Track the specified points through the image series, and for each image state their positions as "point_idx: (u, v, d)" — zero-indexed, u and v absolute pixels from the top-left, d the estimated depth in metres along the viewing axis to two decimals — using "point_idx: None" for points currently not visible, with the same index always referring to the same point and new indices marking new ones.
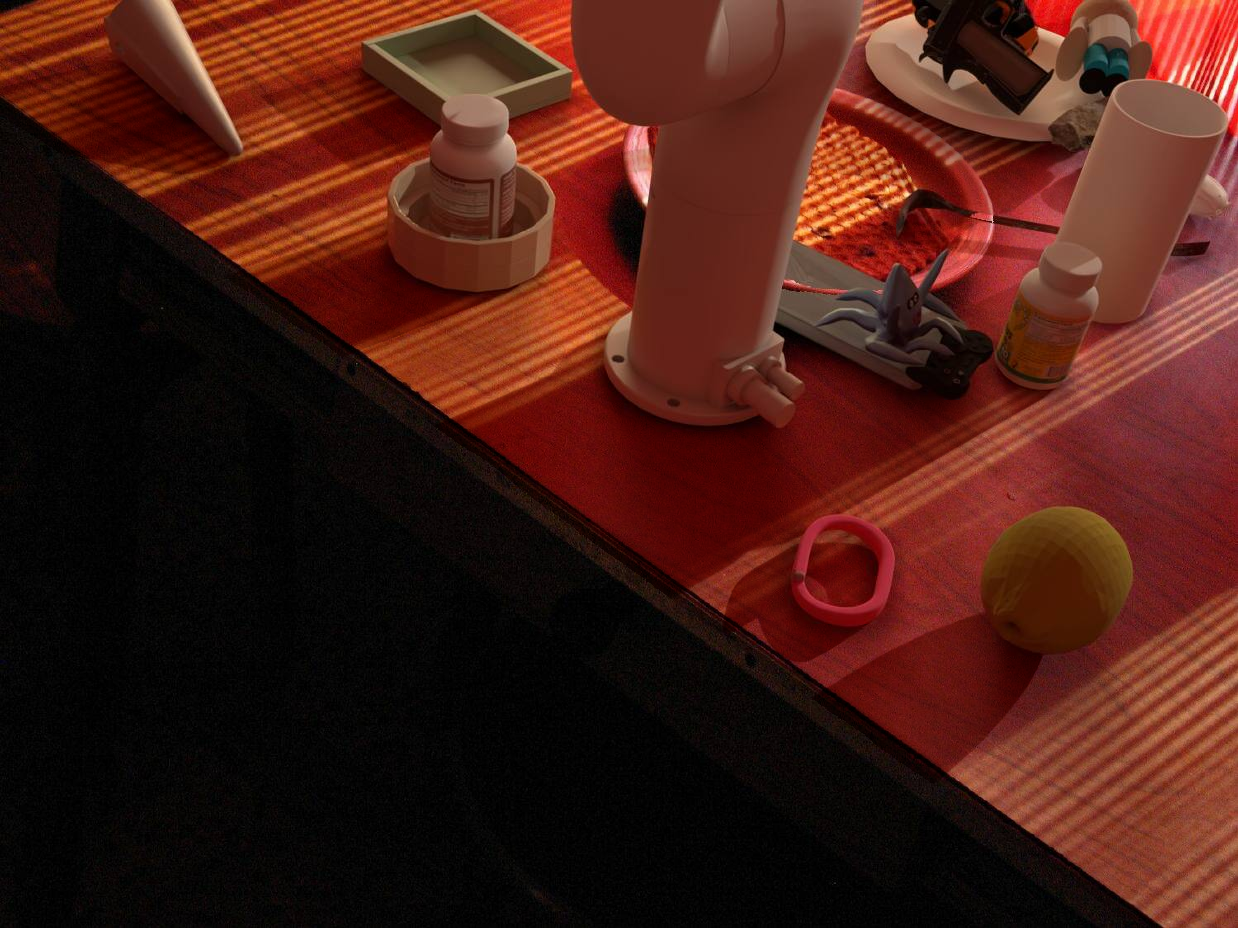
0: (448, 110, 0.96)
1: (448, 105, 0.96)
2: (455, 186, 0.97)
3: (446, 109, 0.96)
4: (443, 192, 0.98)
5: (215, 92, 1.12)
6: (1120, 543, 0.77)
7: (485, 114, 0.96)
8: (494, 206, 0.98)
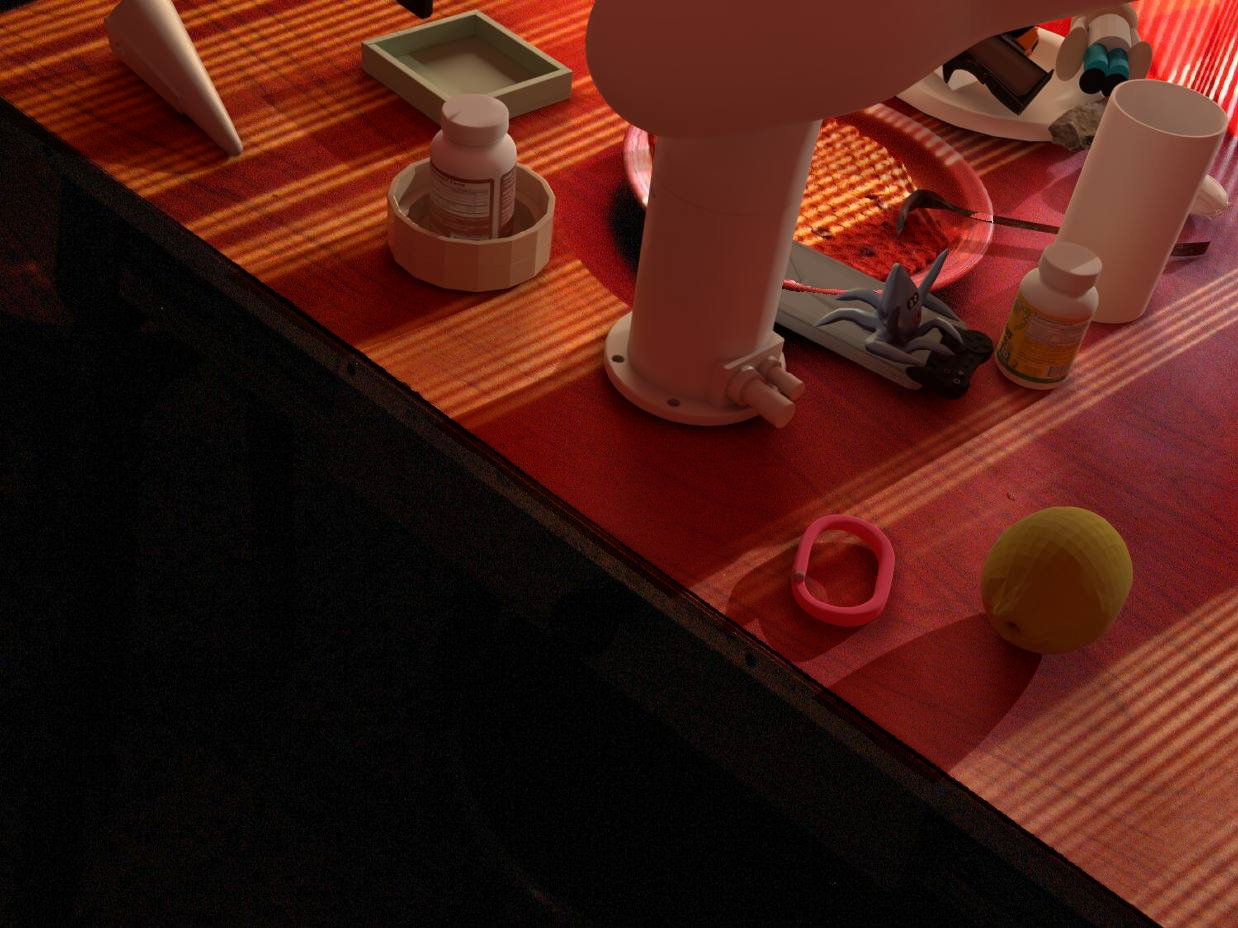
0: (448, 110, 0.96)
1: (448, 105, 0.96)
2: (455, 186, 0.97)
3: (446, 109, 0.96)
4: (443, 192, 0.98)
5: (215, 92, 1.12)
6: (1120, 543, 0.77)
7: (485, 114, 0.96)
8: (494, 206, 0.98)
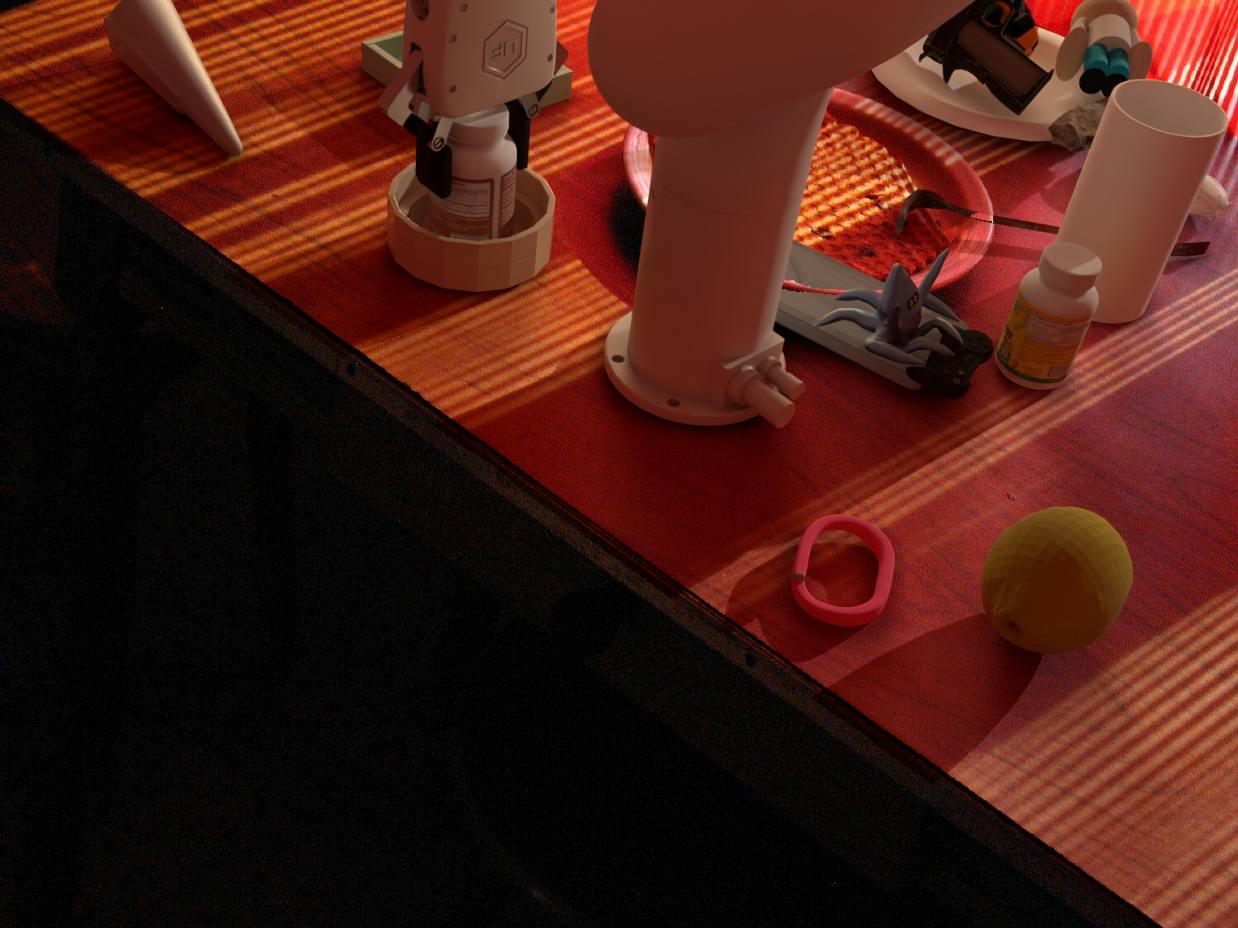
0: None
1: None
2: (455, 186, 0.97)
3: None
4: None
5: (215, 92, 1.12)
6: (1120, 543, 0.77)
7: (485, 114, 0.96)
8: (494, 205, 0.98)
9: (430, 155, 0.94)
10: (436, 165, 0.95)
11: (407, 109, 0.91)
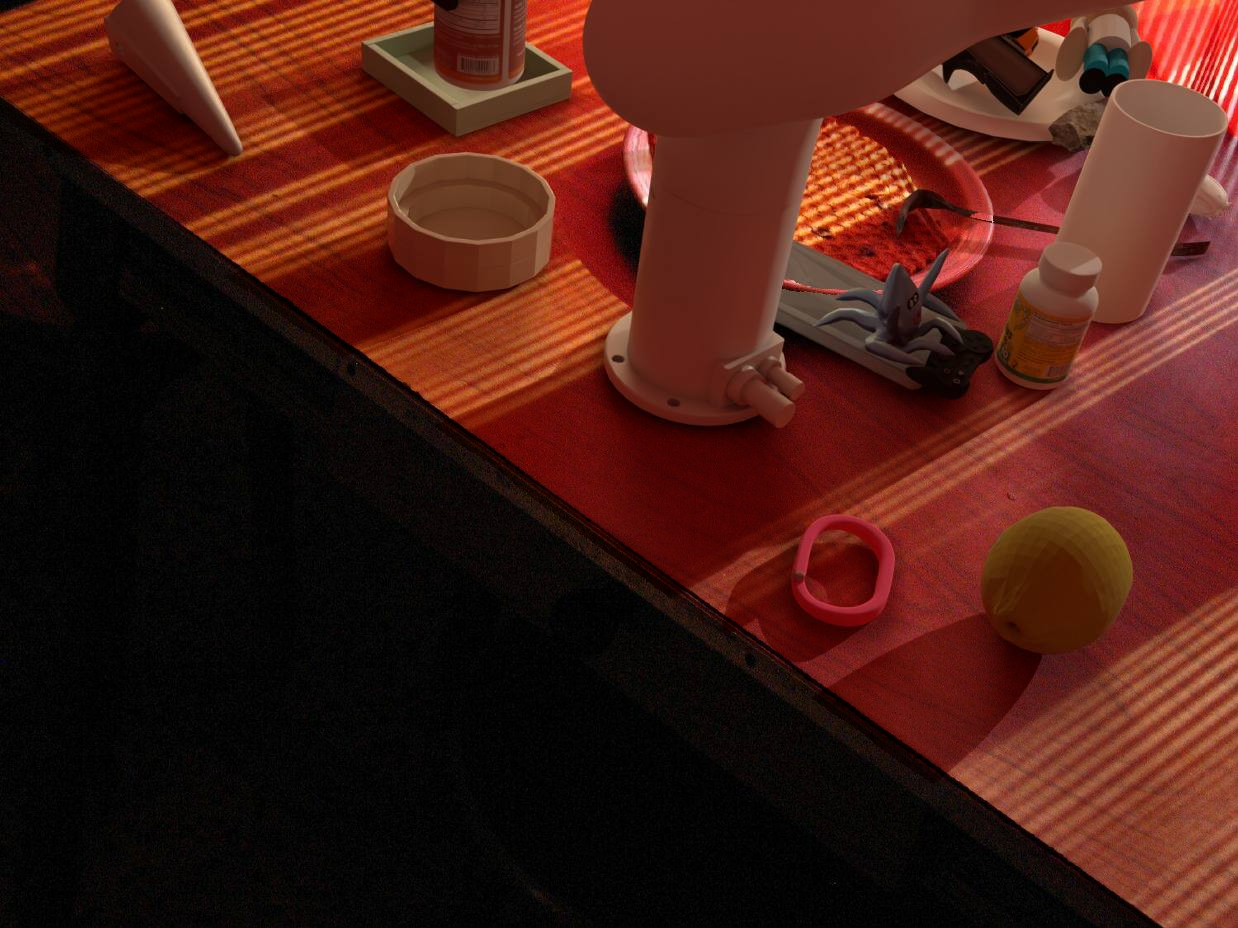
0: None
1: None
2: None
3: None
4: None
5: (215, 92, 1.12)
6: (1120, 543, 0.77)
7: None
8: (505, 21, 0.90)
9: None
10: None
11: None
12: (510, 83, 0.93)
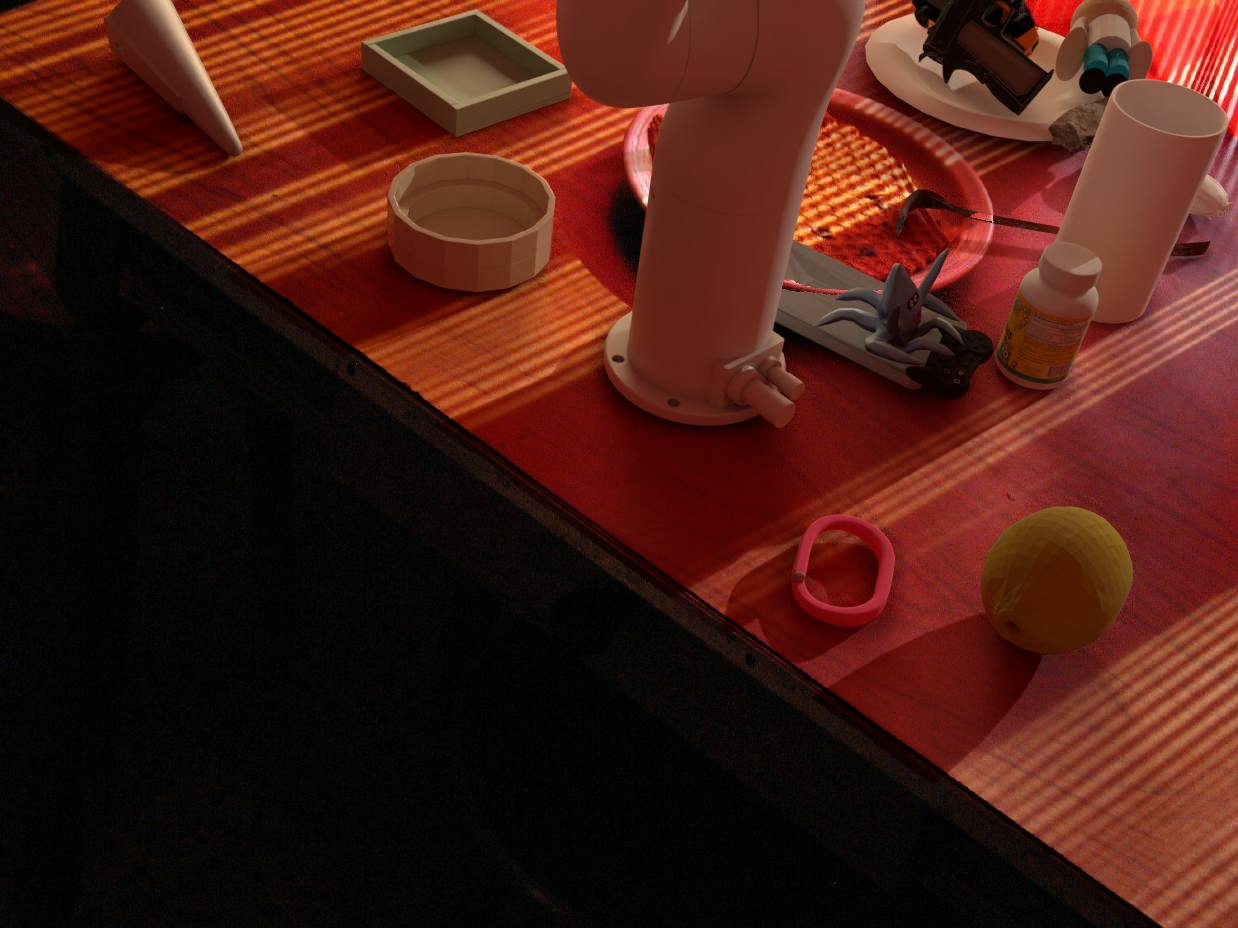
0: None
1: None
2: None
3: None
4: None
5: (215, 92, 1.12)
6: (1120, 543, 0.77)
7: None
8: None
9: None
10: None
11: None
12: None
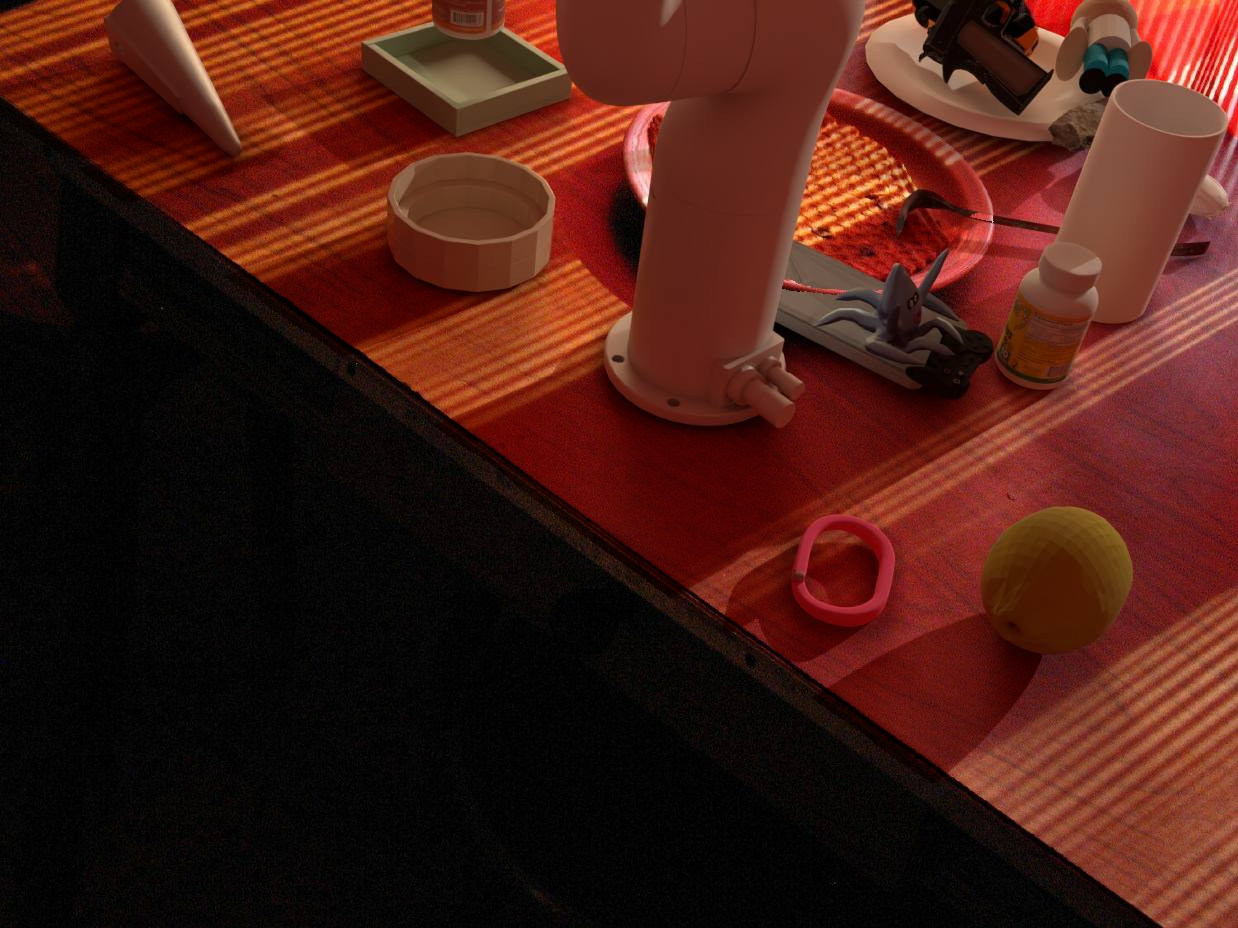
0: None
1: None
2: None
3: None
4: None
5: (214, 92, 1.12)
6: (1120, 543, 0.77)
7: None
8: None
9: None
10: None
11: None
12: (492, 34, 1.17)
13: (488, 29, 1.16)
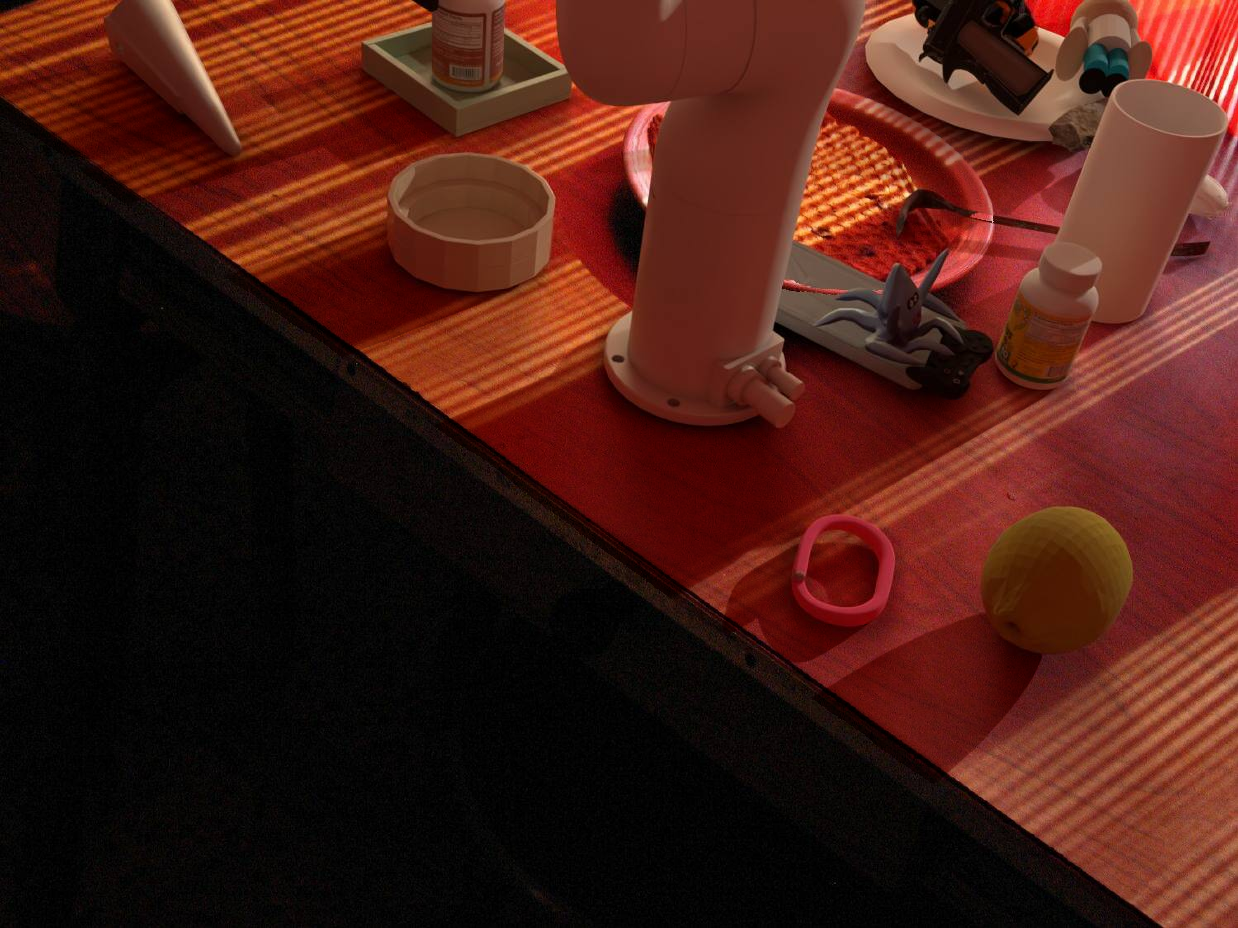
0: None
1: None
2: (453, 19, 1.15)
3: None
4: (443, 26, 1.16)
5: (214, 92, 1.12)
6: (1120, 543, 0.77)
7: None
8: (487, 38, 1.16)
9: None
10: None
11: None
12: (490, 86, 1.20)
13: (486, 82, 1.19)
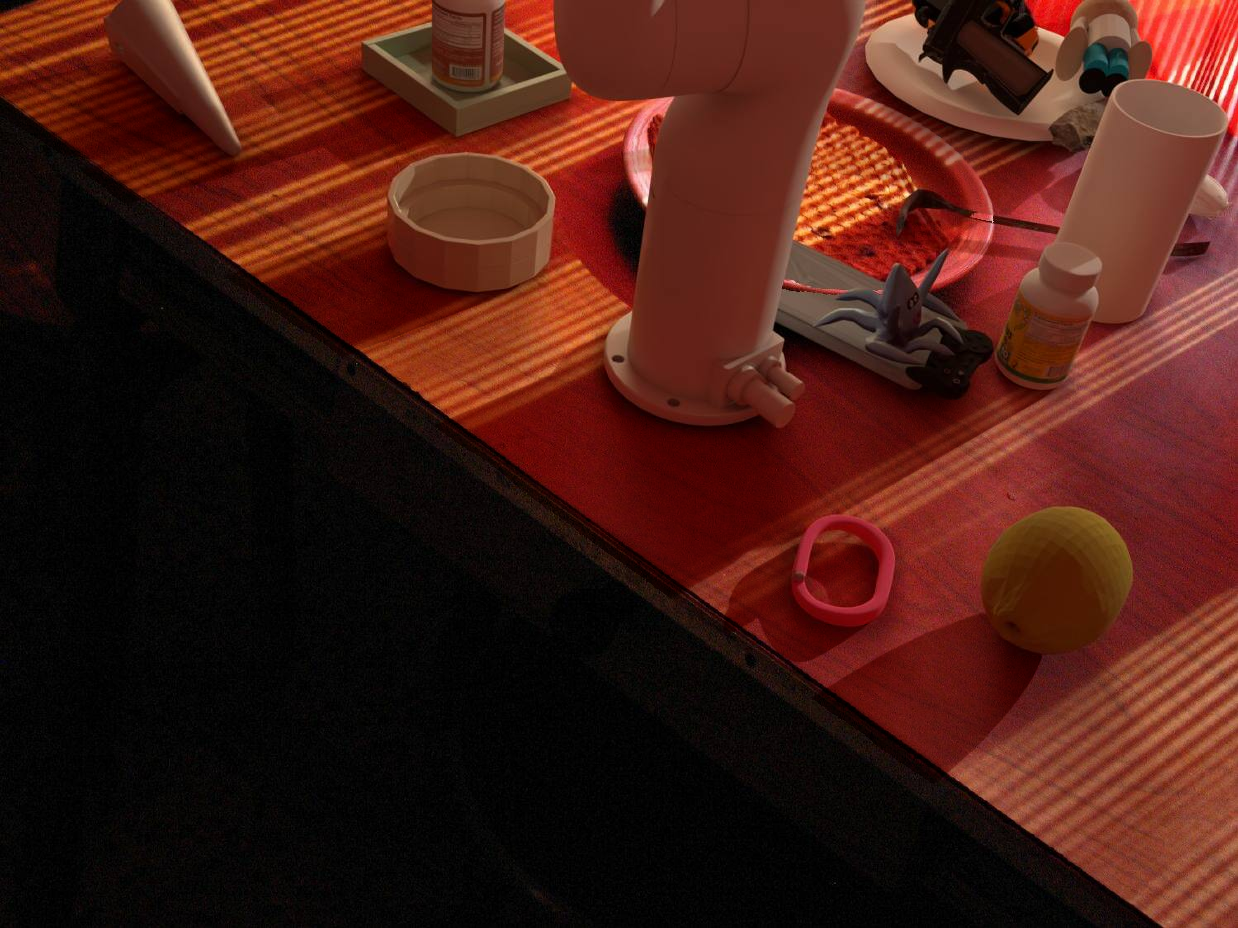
0: None
1: None
2: (453, 19, 1.15)
3: None
4: (443, 26, 1.16)
5: (214, 92, 1.12)
6: (1120, 543, 0.77)
7: None
8: (487, 38, 1.16)
9: None
10: None
11: None
12: (490, 86, 1.20)
13: (486, 82, 1.19)
